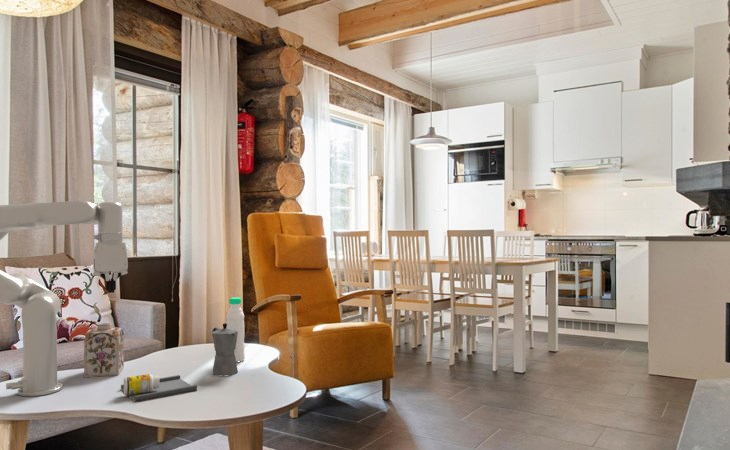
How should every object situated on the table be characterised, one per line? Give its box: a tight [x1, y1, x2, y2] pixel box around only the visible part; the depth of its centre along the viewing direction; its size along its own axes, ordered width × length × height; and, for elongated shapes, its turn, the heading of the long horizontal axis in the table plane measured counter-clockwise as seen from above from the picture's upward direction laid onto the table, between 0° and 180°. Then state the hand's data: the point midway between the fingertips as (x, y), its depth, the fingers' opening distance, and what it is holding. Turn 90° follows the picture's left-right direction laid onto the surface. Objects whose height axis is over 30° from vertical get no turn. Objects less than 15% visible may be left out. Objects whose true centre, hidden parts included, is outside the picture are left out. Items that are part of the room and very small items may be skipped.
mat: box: [120, 374, 198, 403], centre depth 178 cm, size 19×17×2 cm
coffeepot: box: [211, 322, 239, 376], centre depth 200 cm, size 15×9×18 cm, turn 44°
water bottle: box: [225, 297, 246, 363], centre depth 217 cm, size 7×7×25 cm
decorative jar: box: [83, 322, 125, 378], centre depth 201 cm, size 12×12×18 cm
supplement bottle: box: [123, 373, 160, 396], centre depth 173 cm, size 6×6×10 cm
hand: (110, 292), depth 186 cm, fingers closed
